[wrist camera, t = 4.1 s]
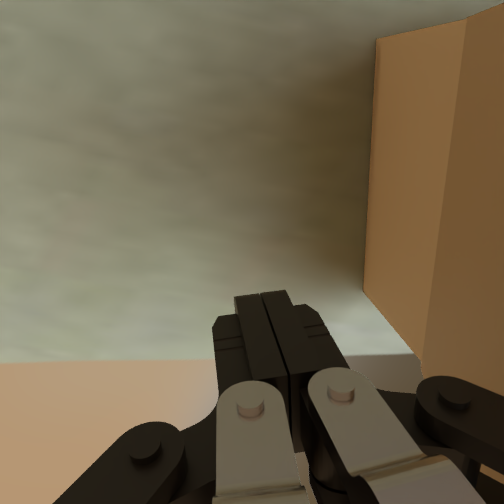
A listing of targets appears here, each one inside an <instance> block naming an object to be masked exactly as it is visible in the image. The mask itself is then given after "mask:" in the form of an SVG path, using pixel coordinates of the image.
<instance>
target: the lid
mask: <svg viewBox="0 0 504 504" xmlns="http://www.w3.org/2000/svg"><path fill="white" fill-rule="evenodd" d="M421 370H422V374H423V377H424V379H426V378H429V377H432V376H452V377H456V378H460V379H463V380H465V381H468V382H470V383H473V384H475V385H478V386H480V387H482V388H485V389H487V390H490V391H492V392H495V393H497V394H499V395H502V396H504V3H502V4H499V5H497V6H495V7H492V8H490V9H487V10H485V11H482V12H480V13H477V14H475V15H472V16H470V17H467V23H466V30H465V38H464V45H463V53H462V60H461V68H460V76H459V83H458V91H457V98H456V106H455V113H454V121H453V128H452V136H451V144H450V151H449V159H448V166H447V174H446V181H445V189H444V196H443V204H442V211H441V219H440V227H439V234H438V242H437V249H436V257H435V264H434V272H433V279H432V287H431V295H430V302H429V310H428V317H427V325H426V332H425V340H424V347H423V355H422V363H421ZM480 472H482V473H484V474H485V475H487V476H489V477H491V478H493V479H495V480H497V481H498V482H500V483H502V484H504V475H502V474H500V473H498V472H496V471H495V470H493V469H491V468H489V467H487V466H485V465H483V464H481V468H480Z"/></svg>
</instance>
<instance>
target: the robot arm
mask: <svg viewBox="0 0 504 504" xmlns="http://www.w3.org/2000/svg"><path fill="white" fill-rule="evenodd" d="M234 305H235V314H231V315H224V316H218V318H217V319H216V321H215V323H214V325H213V327H212V333H213V342H214V352H215V361H216V370H217V380H218V390H219V397H218V402H217V404H216V406H215V408H214V409H213V411H212V412H211V413H210V414H209V415H208V416H207V417H206V418H205V419H203V420H202V421H200V422H199V423H197V424H195V425H193V426H191V427H189V428H186V429H184V430H182V431H179V430H178V429H177V428H176V427H174V426H173V425H171V424H168V423H165V422H147V423H144V424H140V425H138V426H135V427H134V428H131V429H130V430H128V431H127V432H125V433H124V434H123V435H122V436H120V437H119V438H118V439H117V440H116V441H115V442H114V443H113V444H112V445H111V446H110V447H109V448H108V449H107V450H106V451H105V452H104V453H103V454H102V455H101V456H100V457H99V458H98V459H97V460H96V461H95V462H94V463H93V464H92V465H91V466H90V467H89V468H88V469H87V470H86V471H85V472H84V473H83V474H82V475H81V476H80V477H79V478H78V479H77V480H76V481H75V482H74V483H73V484H72V485H71V486H70V487H69V488H68V489H67V490H66V491H65V492H64V493H63V494H62V495H61V496H60V497H59V498H58V499H57V500H56V501H55V502H54V503H53V504H309V500H308V496H307V492H306V489H305V487H304V486H301V483H300V479H299V474H298V469H297V464H296V459H295V454H294V453H298V452H304V451H305V454H306V457H307V460H308V463H309V483H310V486H311V488H312V491H313V494H314V496H315V498H316V501H317V504H504V484H502V483H500V482H498V481H497V480H495V479H493V478H491V477H489V476H487V475H485V474H484V473H482V472H480V468H481V464H483V465H485V466H487V467H489V468H491V469H493V470H495V471H496V472H498V473H500V474H502V475H504V396H502V395H499V394H497V393H495V392H492V391H490V390H487V389H485V388H482V387H480V386H478V385H475V384H473V383H470V382H468V381H465V380H463V379H460V378H456V377H452V376H432V377H429V378H426V379H424V380H423V381H422V382H421V383H420V384H419V385H418V387H417V391H416V394H411V393H400V392H390V391H384V390H379V389H376V388H375V387H374V386H373V384H372V383H371V382H370V381H369V379H367V378H366V377H365V376H364V375H362V374H361V373H359V372H357V371H354V370H351V369H350V368H349V366H348V364H347V363H346V361H345V359H344V357H343V355H342V354H341V352H340V350H339V348H338V347H337V345H336V343H335V341H334V340H333V338H332V336H331V335H330V333H329V331H328V329H327V327H326V326H325V324H324V322H323V320H322V319H321V317H320V315H319V313H318V312H316V311H315V310H314V309H312V308H311V307H309V306H308V305H306V304H302V305H295V306H293V304H292V302H291V300H290V298H289V296H288V294H287V292H286V290H279V291H272V292H264V293H260V294H259V293H258V294H250V295H243V296H235V297H234Z"/></svg>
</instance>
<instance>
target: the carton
mask: <svg viewBox="0 0 504 504" xmlns="http://www.w3.org/2000/svg"><path fill="white" fill-rule="evenodd" d="M466 23H467V19H464V20H459V21H455V22H450V23H446V24H441V25H437V26H432V27H428V28H423V29H419V30H414V31H410V32H405V33H401V34H396V35H392V36H387V37H383V38H378V39H376V57H375V76H374V95H373V114H372V132H371V151H370V170H369V188H368V207H367V226H366V245H365V263H364V282H363V292H364V293H365V295H366V296H367V297H368V298H369V299H370V301H371V302H372V303H373V304H374V305H375V307H376V308H377V309H378V310H379V311H380V313H381V314H382V315H383V316H384V317H385V319H386V320H387V321H388V322H389V323H390V325H391V326H392V327H393V328H394V329H395V331H396V332H397V333H398V334H399V335H400V337H401V338H402V339H403V340H404V341H405V343H406V344H407V345H408V346H409V347H410V349H411V350H412V351H413V352H414V353H415V355H416V356H417V357H418V358H419V359H420V361H421V362H422V355H423V347H424V340H425V332H426V325H427V317H428V310H429V302H430V295H431V287H432V279H433V272H434V264H435V257H436V249H437V242H438V234H439V227H440V219H441V211H442V204H443V196H444V189H445V181H446V174H447V166H448V159H449V151H450V144H451V136H452V128H453V121H454V113H455V106H456V98H457V91H458V83H459V76H460V68H461V60H462V53H463V45H464V38H465V30H466Z"/></svg>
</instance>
